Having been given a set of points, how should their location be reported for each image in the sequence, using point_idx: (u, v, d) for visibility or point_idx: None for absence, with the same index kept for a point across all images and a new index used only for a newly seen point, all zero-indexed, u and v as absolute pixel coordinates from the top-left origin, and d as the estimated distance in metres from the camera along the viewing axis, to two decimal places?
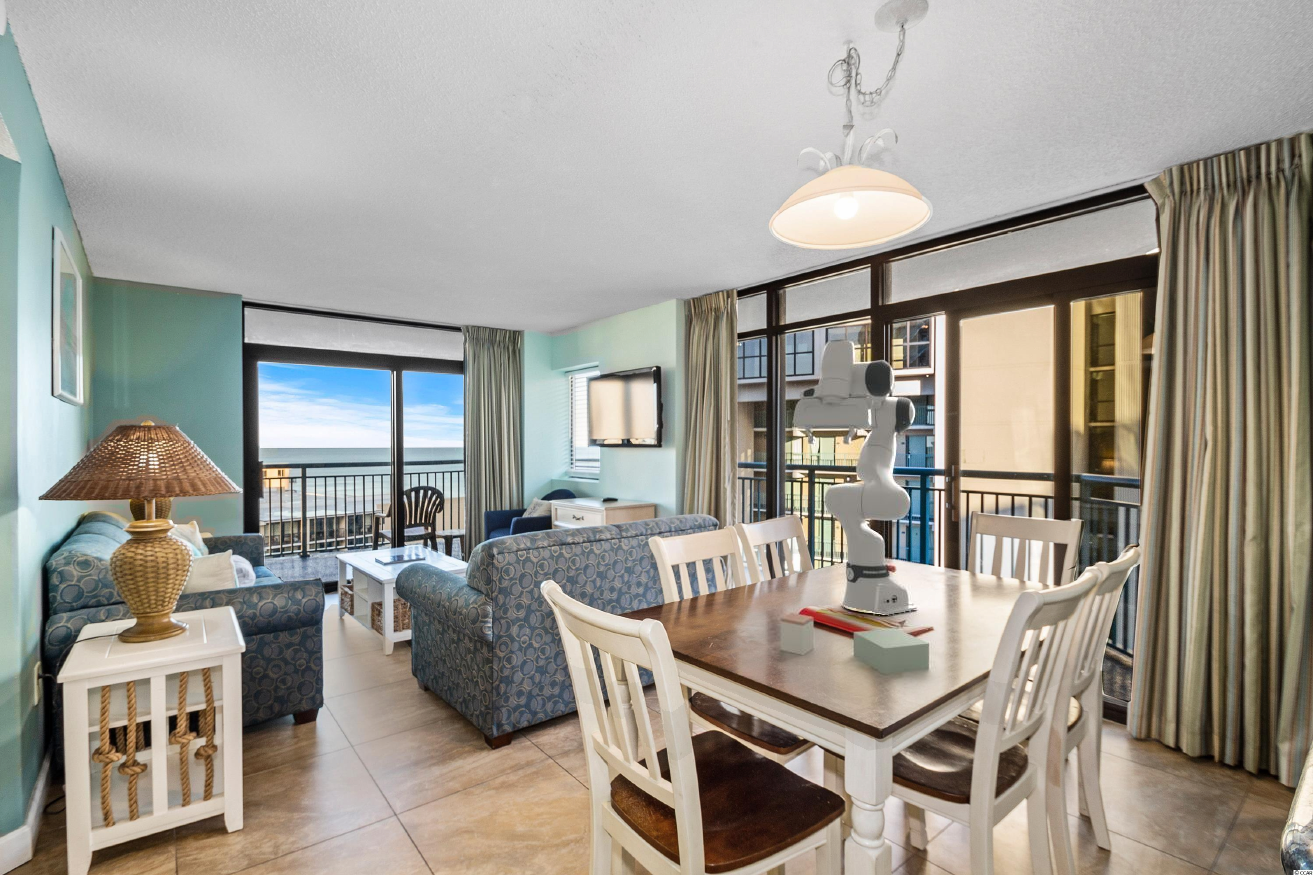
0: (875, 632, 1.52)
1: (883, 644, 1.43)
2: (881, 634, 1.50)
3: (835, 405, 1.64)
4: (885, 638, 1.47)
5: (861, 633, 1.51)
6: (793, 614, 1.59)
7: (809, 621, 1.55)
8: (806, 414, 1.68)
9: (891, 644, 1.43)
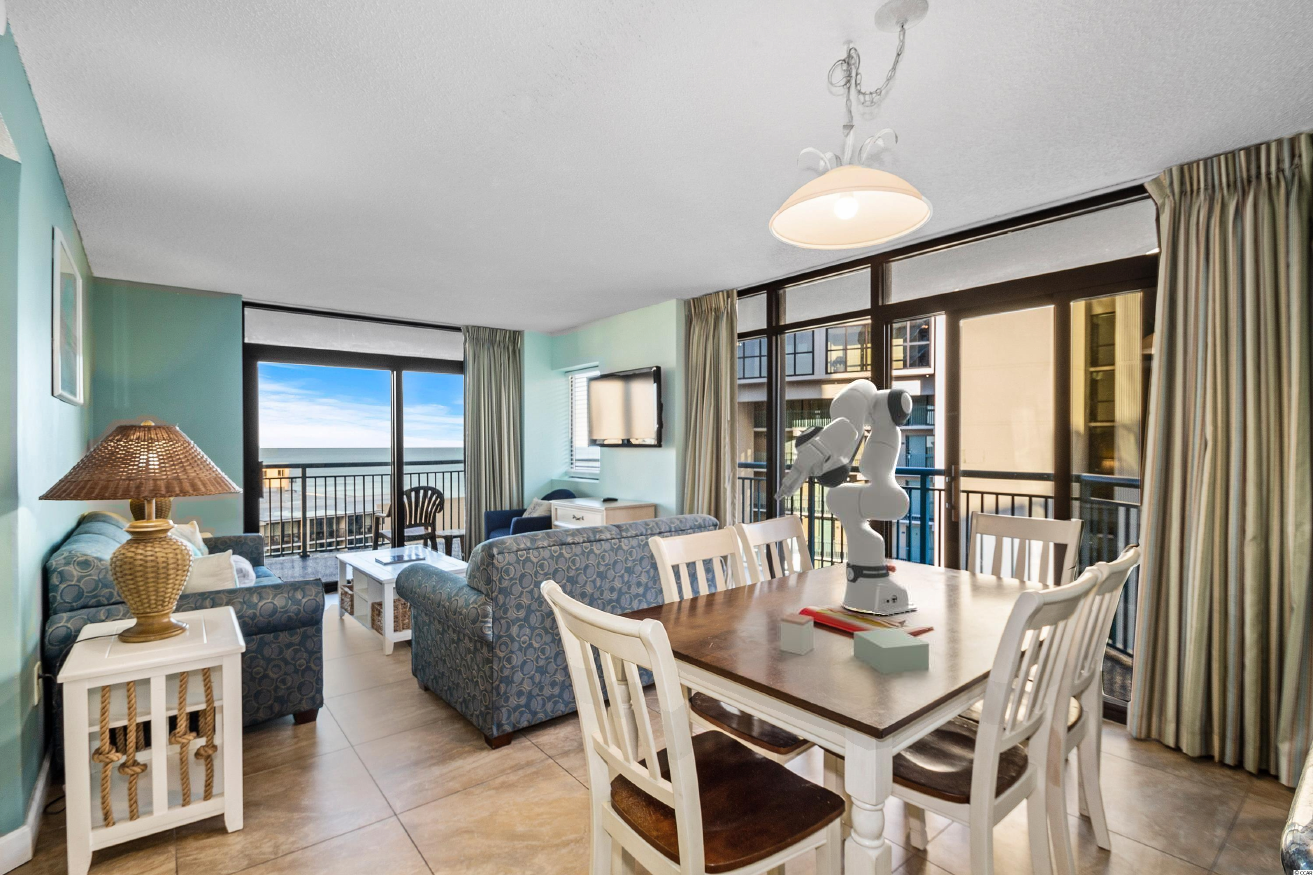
0: (875, 632, 1.52)
1: (882, 644, 1.43)
2: (881, 634, 1.50)
3: (808, 473, 1.68)
4: (884, 638, 1.47)
5: (861, 633, 1.51)
6: (793, 614, 1.59)
7: (809, 621, 1.55)
8: (809, 467, 1.61)
9: (890, 644, 1.43)
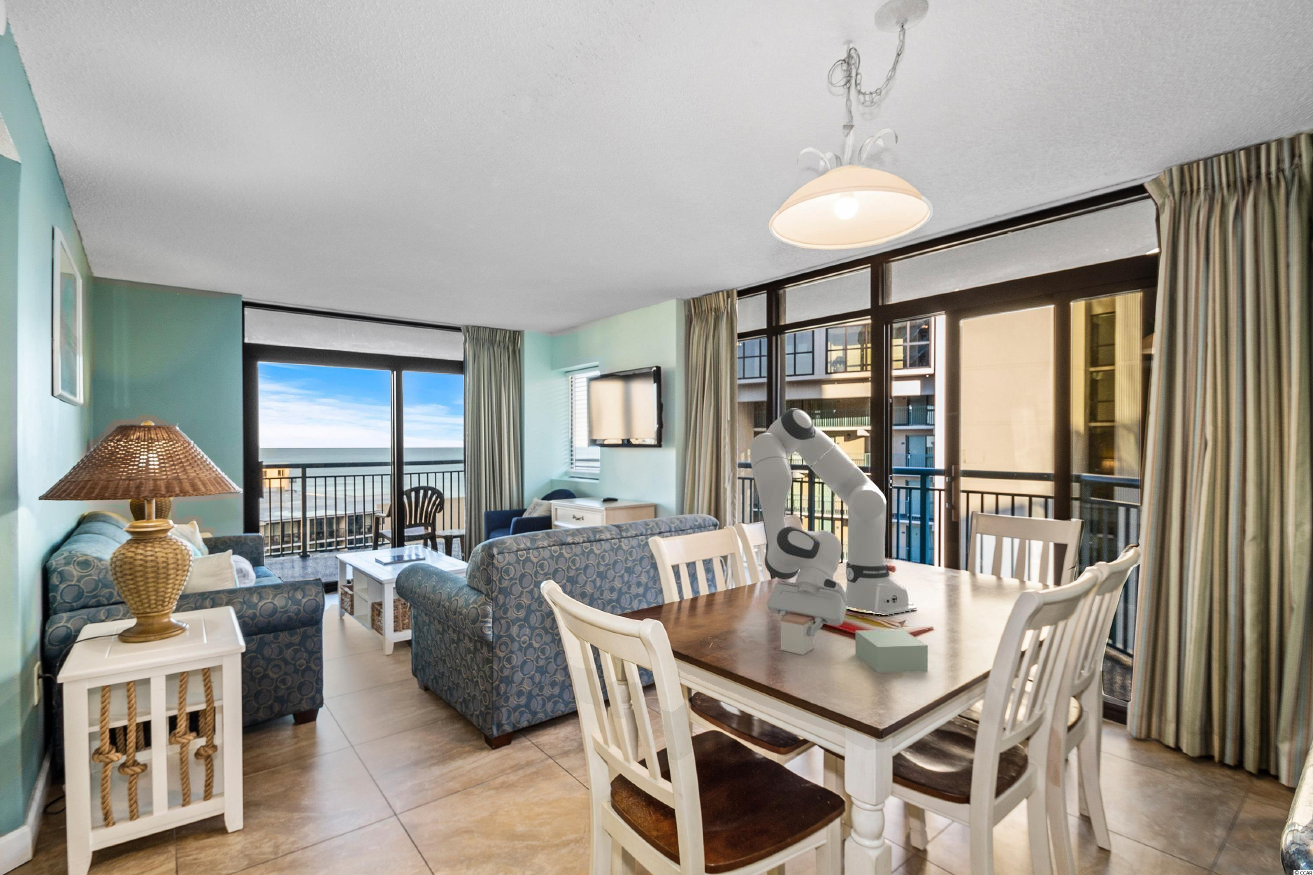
0: (878, 632, 1.52)
1: (878, 643, 1.43)
2: (882, 634, 1.50)
3: None
4: (884, 638, 1.47)
5: (862, 631, 1.52)
6: (793, 614, 1.59)
7: (809, 621, 1.55)
8: None
9: (886, 643, 1.43)
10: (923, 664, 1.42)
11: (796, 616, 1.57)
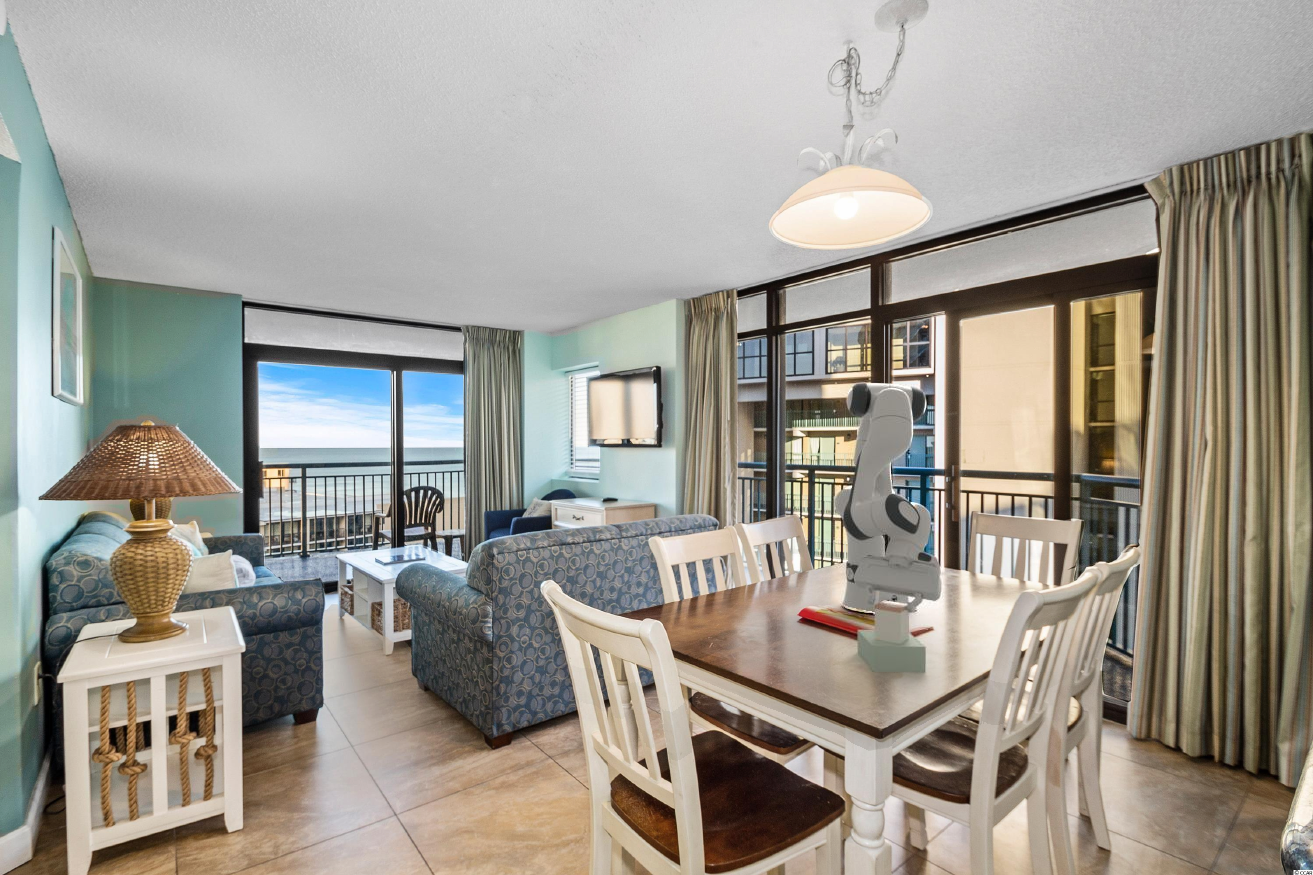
0: None
1: (875, 643, 1.44)
2: None
3: None
4: None
5: (863, 631, 1.53)
6: (886, 601, 1.50)
7: (905, 608, 1.46)
8: None
9: (883, 643, 1.44)
10: (921, 665, 1.42)
11: (890, 603, 1.48)
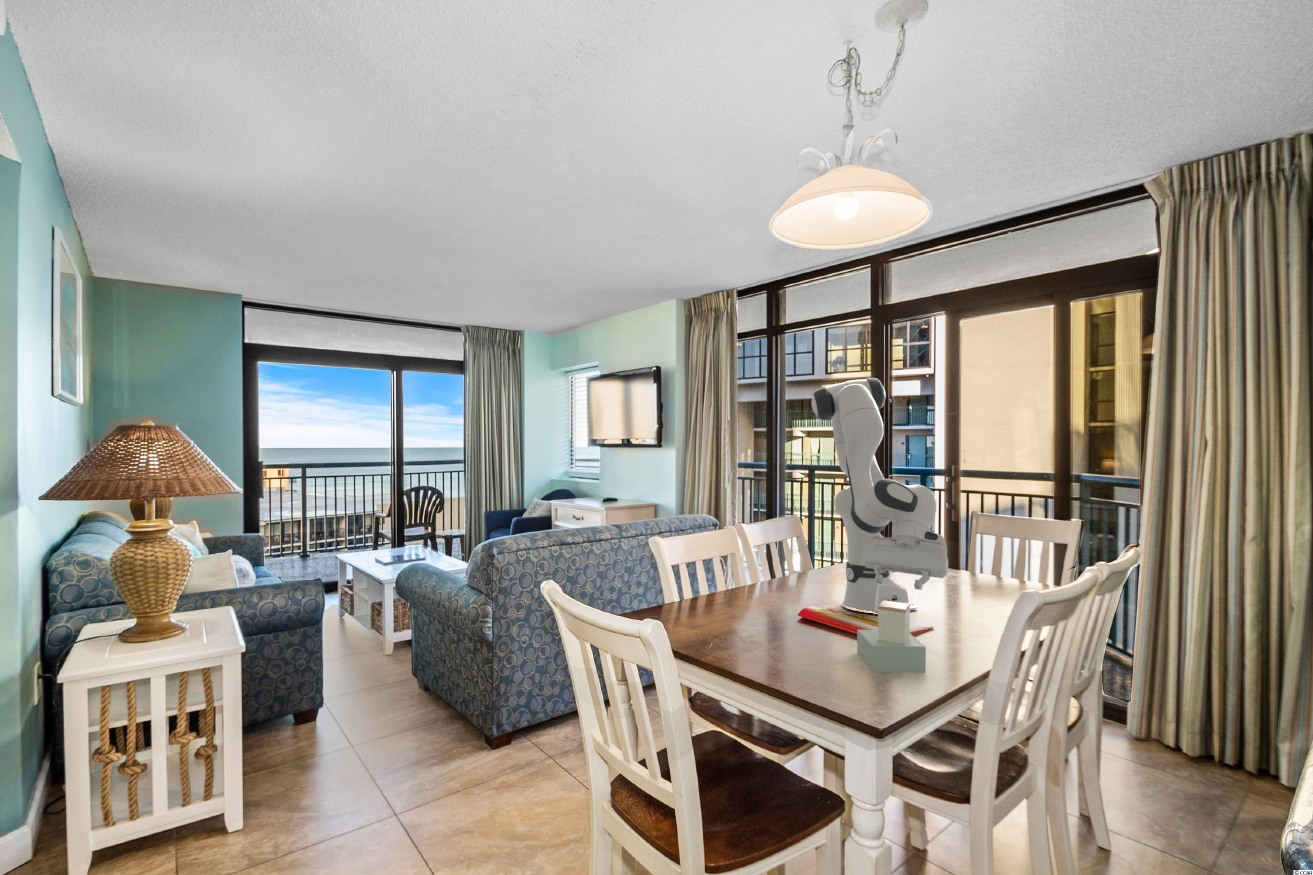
0: None
1: (875, 642, 1.44)
2: None
3: None
4: None
5: (863, 631, 1.53)
6: (887, 601, 1.50)
7: (908, 608, 1.47)
8: None
9: (883, 643, 1.44)
10: (921, 665, 1.42)
11: (892, 603, 1.48)
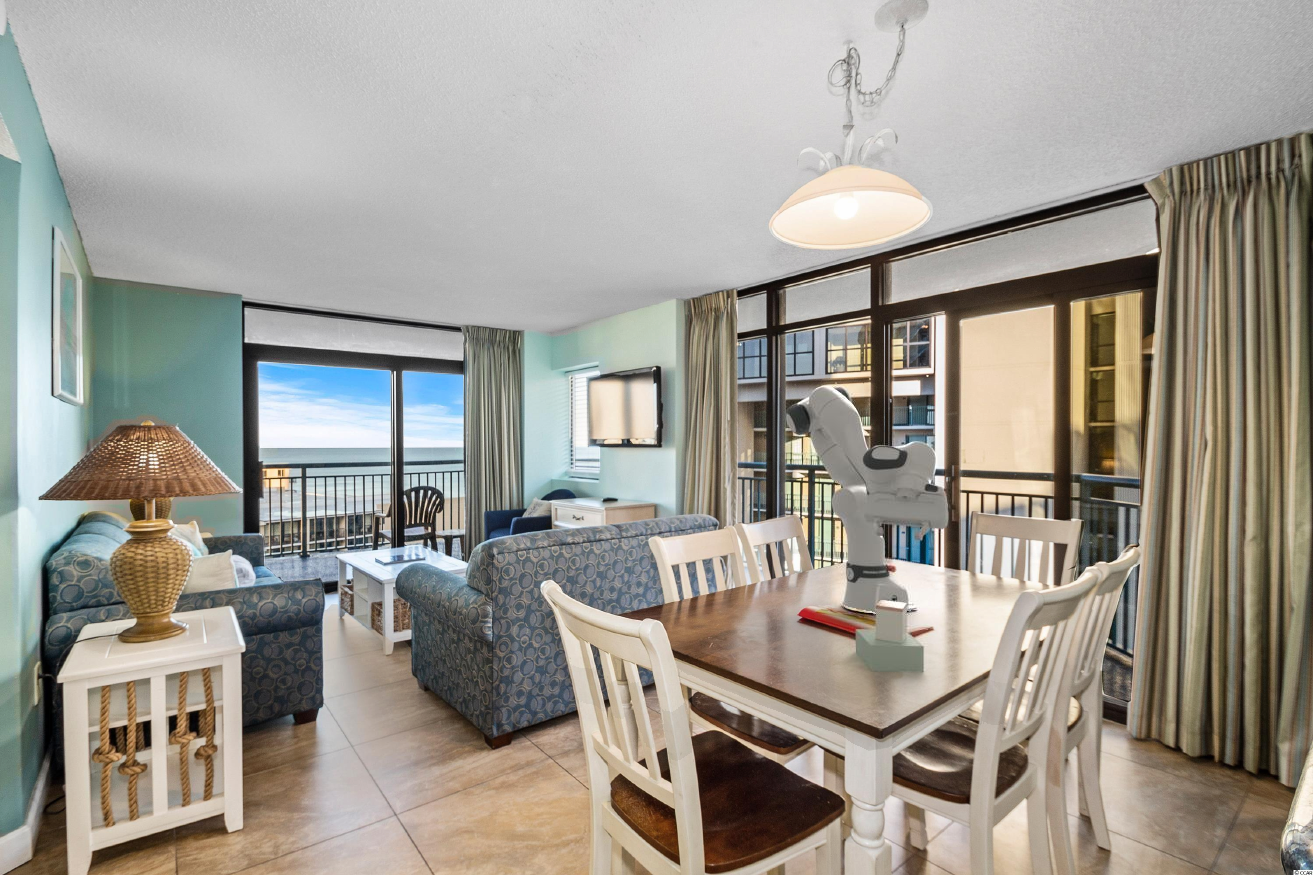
0: None
1: (873, 642, 1.44)
2: None
3: None
4: None
5: (862, 630, 1.53)
6: (884, 601, 1.51)
7: (905, 607, 1.47)
8: None
9: (881, 642, 1.44)
10: (919, 665, 1.42)
11: (889, 603, 1.49)
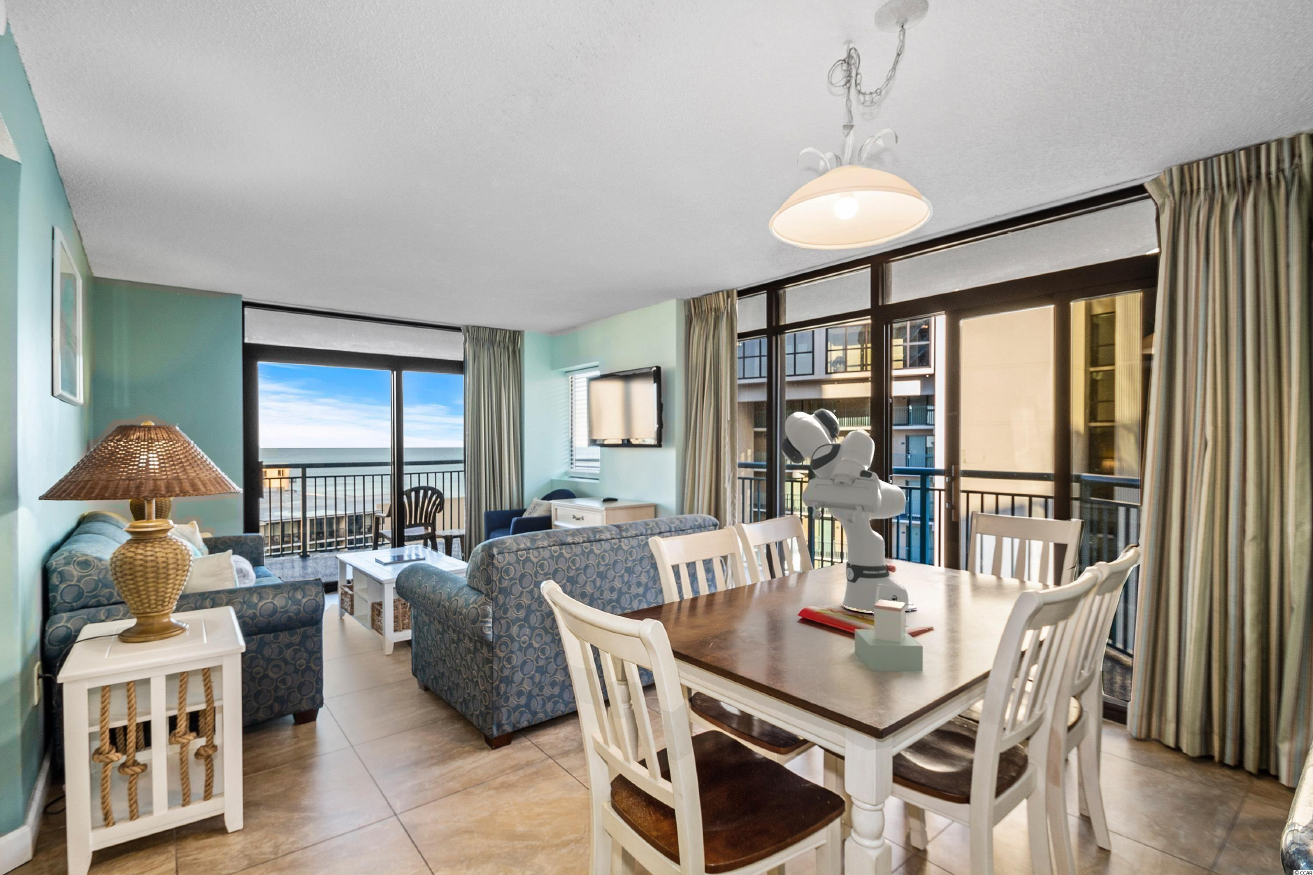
0: None
1: (872, 642, 1.45)
2: None
3: None
4: None
5: (861, 630, 1.53)
6: (882, 600, 1.51)
7: (903, 607, 1.47)
8: None
9: (880, 642, 1.44)
10: (918, 664, 1.42)
11: (888, 603, 1.49)
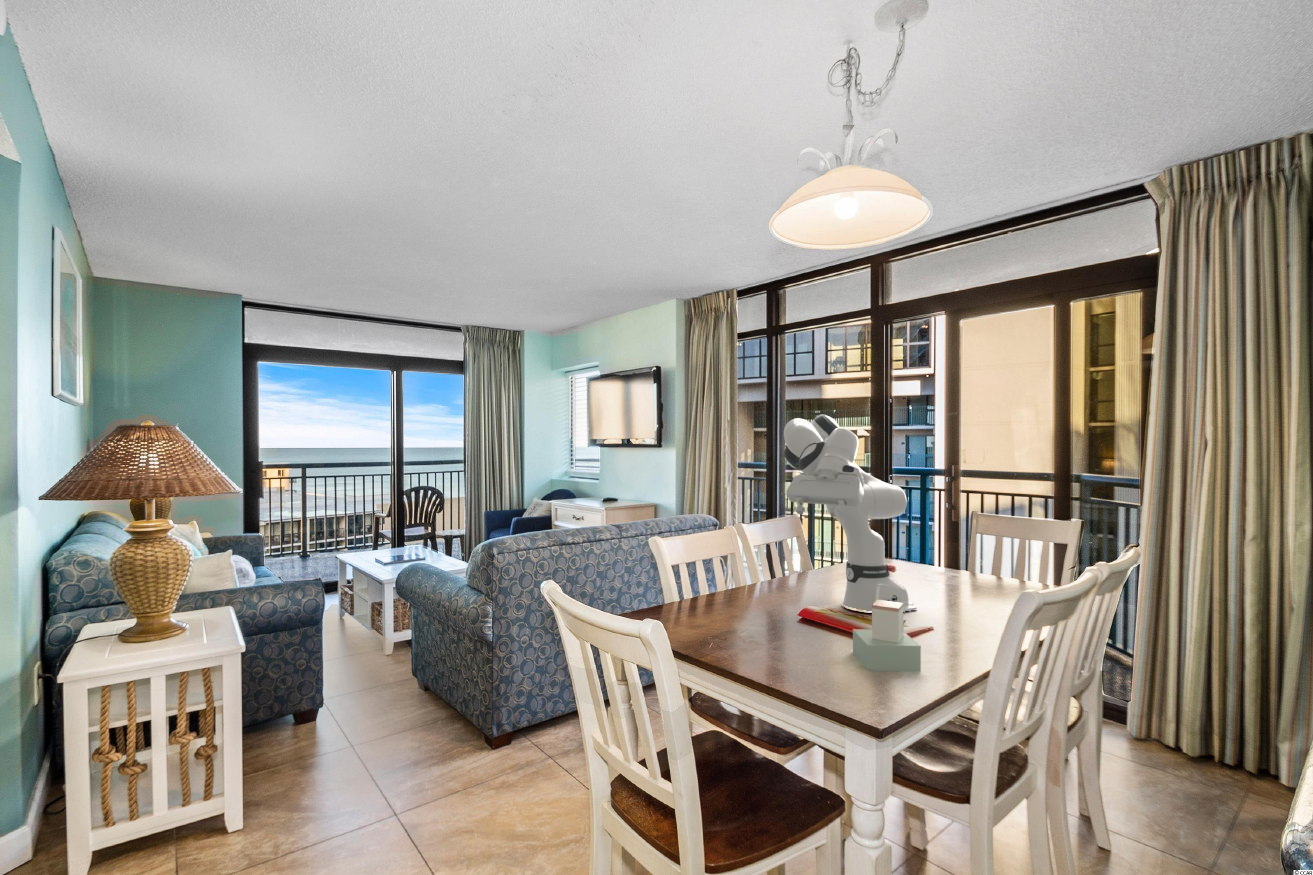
0: None
1: (870, 642, 1.45)
2: None
3: None
4: None
5: (859, 630, 1.53)
6: (880, 601, 1.51)
7: (901, 607, 1.47)
8: None
9: (878, 642, 1.44)
10: (916, 665, 1.42)
11: (886, 603, 1.49)
